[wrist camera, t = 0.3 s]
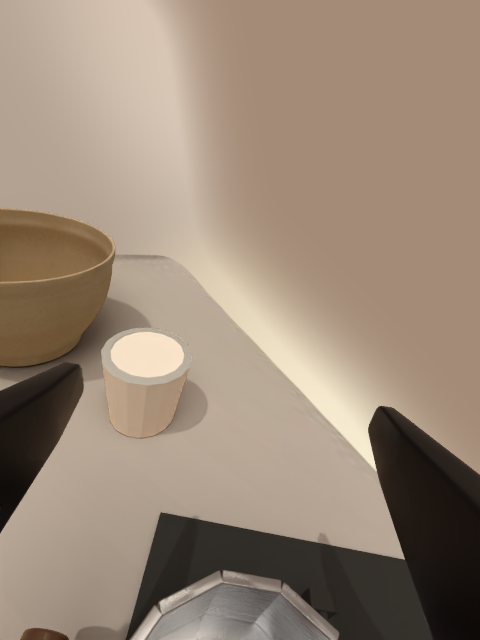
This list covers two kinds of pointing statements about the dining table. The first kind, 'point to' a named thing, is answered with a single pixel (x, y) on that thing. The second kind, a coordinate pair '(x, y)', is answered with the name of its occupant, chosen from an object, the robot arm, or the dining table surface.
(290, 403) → the dining table surface
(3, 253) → the planter bowl
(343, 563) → the mat
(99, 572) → the dining table surface
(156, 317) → the dining table surface
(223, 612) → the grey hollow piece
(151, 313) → the dining table surface
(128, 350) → the white tapered cylinder
